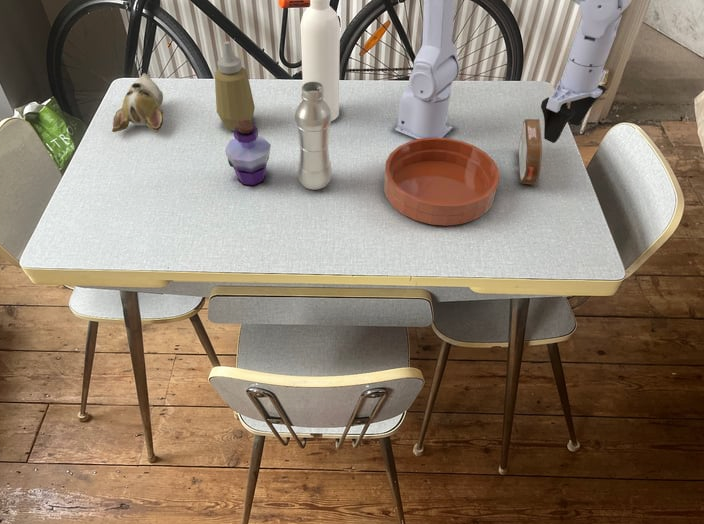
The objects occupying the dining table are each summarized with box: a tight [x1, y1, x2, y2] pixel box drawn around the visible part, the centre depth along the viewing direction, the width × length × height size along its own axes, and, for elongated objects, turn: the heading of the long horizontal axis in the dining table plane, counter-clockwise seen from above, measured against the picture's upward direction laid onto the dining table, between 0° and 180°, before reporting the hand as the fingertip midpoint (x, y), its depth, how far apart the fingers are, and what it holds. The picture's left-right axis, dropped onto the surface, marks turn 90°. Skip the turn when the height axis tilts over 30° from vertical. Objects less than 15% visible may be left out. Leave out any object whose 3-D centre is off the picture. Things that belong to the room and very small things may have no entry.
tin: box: [518, 118, 543, 186], centre depth 109 cm, size 15×3×8 cm, turn 168°
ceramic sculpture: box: [111, 72, 164, 133], centre depth 122 cm, size 11×9×15 cm
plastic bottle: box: [294, 81, 333, 191], centre depth 103 cm, size 6×7×20 cm
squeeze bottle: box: [214, 40, 255, 132], centre depth 117 cm, size 8×8×18 cm
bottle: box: [299, 0, 341, 122], centre depth 115 cm, size 8×8×30 cm
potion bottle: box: [224, 119, 272, 187], centre depth 107 cm, size 9×9×12 cm
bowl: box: [383, 137, 500, 226], centre depth 106 cm, size 20×20×5 cm
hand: (561, 131), depth 103 cm, fingers open, 7 cm apart
